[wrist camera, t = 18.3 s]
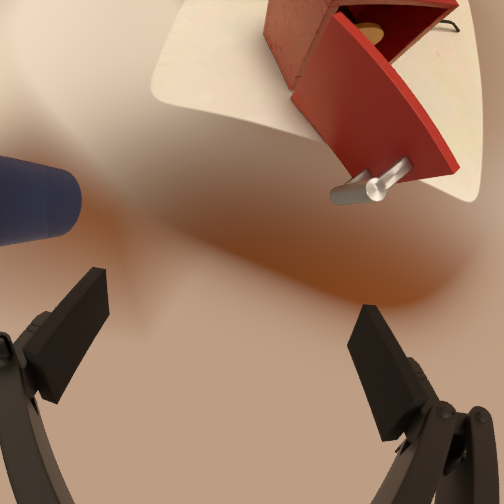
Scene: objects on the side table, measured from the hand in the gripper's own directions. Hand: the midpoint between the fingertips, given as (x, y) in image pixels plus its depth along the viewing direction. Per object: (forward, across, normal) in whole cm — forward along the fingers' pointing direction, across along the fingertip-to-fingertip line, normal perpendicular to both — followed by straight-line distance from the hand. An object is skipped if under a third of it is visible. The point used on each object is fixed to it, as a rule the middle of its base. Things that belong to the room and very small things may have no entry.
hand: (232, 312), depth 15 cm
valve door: (+18, +6, +7) cm, 21 cm away
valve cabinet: (+22, +6, +19) cm, 30 cm away
